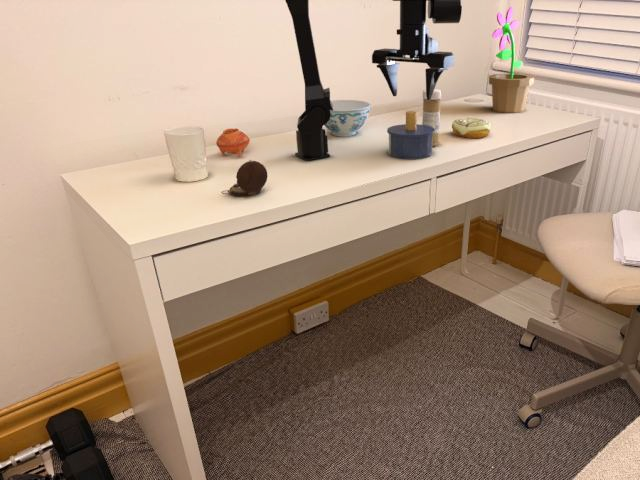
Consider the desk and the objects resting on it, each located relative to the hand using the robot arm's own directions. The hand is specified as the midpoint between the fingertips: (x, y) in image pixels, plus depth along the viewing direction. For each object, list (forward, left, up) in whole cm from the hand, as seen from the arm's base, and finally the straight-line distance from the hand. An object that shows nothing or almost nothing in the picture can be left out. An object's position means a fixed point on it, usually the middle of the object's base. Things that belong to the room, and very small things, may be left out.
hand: (411, 97), depth 130 cm
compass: (-45, -6, -13) cm, 47 cm away
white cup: (-50, +11, -13) cm, 53 cm away
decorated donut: (+25, +6, -13) cm, 29 cm away
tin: (0, 0, -13) cm, 13 cm away
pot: (-36, +23, -13) cm, 45 cm away
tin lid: (0, 0, -8) cm, 8 cm away
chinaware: (-3, +27, -13) cm, 30 cm away
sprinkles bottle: (+9, +4, -13) cm, 16 cm away
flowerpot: (+58, +25, -13) cm, 64 cm away
